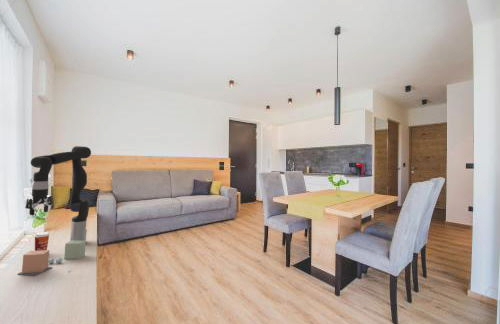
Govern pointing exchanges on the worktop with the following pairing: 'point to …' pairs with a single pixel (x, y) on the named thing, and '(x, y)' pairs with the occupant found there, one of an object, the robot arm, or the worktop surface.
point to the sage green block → (75, 249)
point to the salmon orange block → (35, 261)
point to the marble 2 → (59, 260)
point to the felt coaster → (34, 272)
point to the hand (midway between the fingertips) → (39, 213)
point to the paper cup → (41, 241)
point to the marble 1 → (51, 260)
